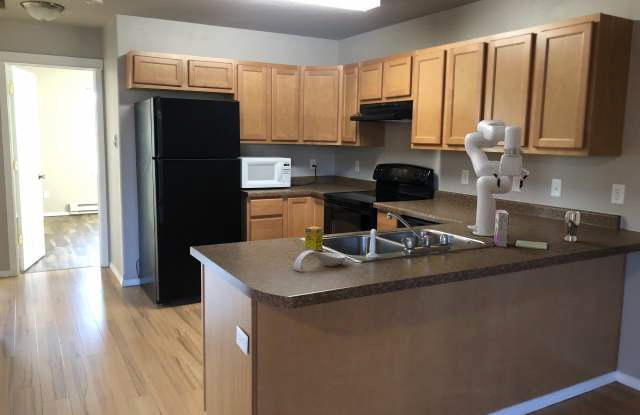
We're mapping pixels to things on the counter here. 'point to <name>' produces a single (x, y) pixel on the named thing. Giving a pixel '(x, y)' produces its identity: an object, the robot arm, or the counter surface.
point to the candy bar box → (501, 228)
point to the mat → (531, 244)
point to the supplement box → (314, 239)
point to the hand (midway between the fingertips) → (509, 188)
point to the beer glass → (571, 225)
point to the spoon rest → (324, 258)
